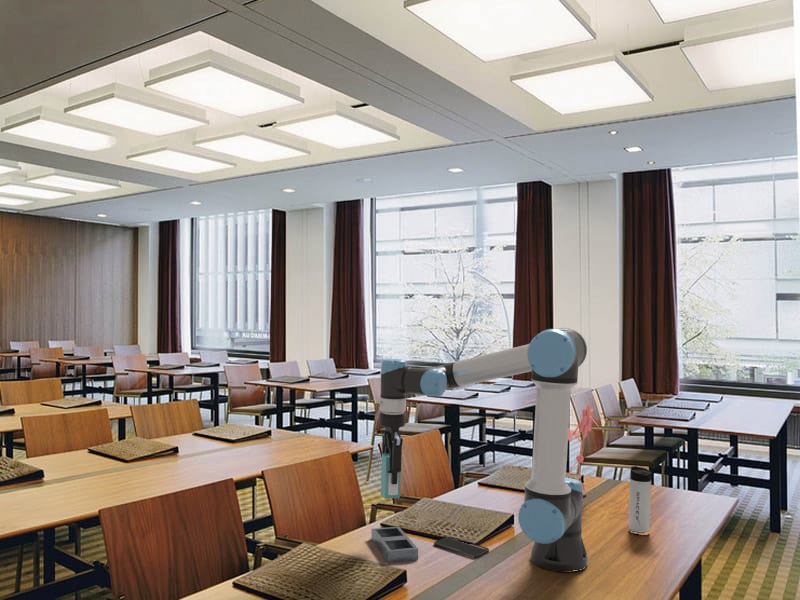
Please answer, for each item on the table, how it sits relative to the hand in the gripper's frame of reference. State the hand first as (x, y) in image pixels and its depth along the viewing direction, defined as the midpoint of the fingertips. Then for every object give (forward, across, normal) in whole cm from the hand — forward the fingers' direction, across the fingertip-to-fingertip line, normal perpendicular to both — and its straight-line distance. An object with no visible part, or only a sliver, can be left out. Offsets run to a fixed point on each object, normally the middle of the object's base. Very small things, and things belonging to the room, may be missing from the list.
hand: (390, 491), depth 194 cm
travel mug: (+15, +9, +79) cm, 81 cm away
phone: (+15, +9, +19) cm, 26 cm away
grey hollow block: (+15, +5, 0) cm, 16 cm away
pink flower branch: (+15, -24, +81) cm, 86 cm away
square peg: (+1, 0, 0) cm, 1 cm away
